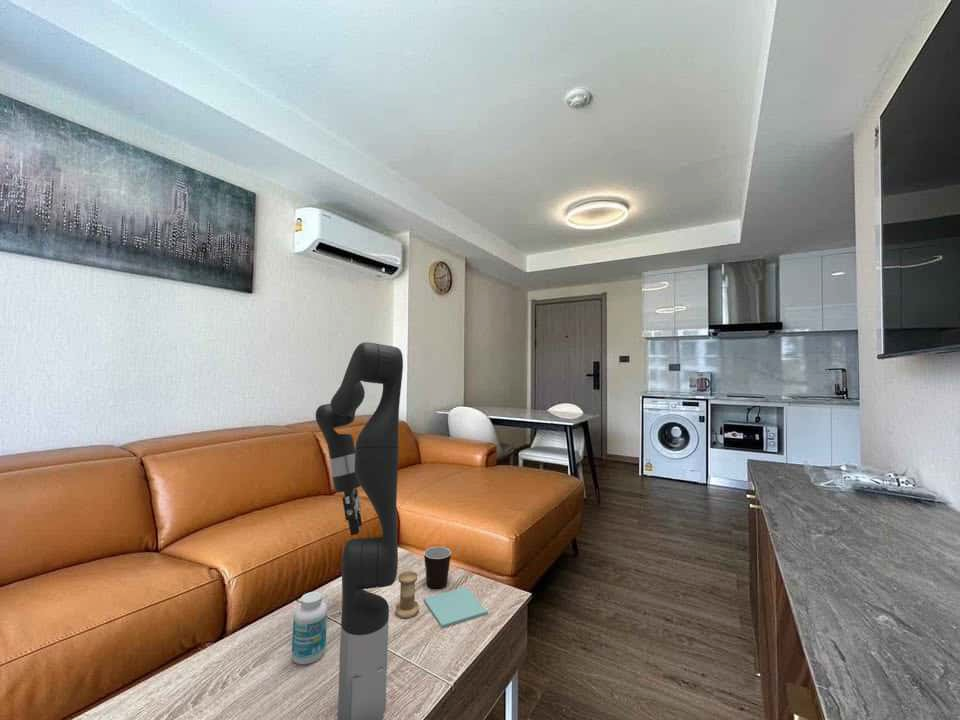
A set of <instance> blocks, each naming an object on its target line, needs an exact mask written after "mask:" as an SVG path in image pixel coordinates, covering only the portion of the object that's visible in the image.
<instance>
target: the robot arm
mask: <svg viewBox="0 0 960 720" xmlns="http://www.w3.org/2000/svg"><path fill="white" fill-rule="evenodd" d="M403 370H404V357H403V353H402V351H401V349H400V348H399V347H397V346H393V345H386V344H380V343H376V342H375V343H374V342H369V341H367V342H366V341H364V342H360V344H358V345H357V346H356V348H355V349H354V351H353V353H352V355H351V358H350V359H349V363H348V365H347V368H346V370H345V372H344V376H343V379H342V382H341V384H340V386H339V388H338V389H337V391H336V392H335V393H334V395H333V396H332V398H331V399H330V400H331V401H330V403H326V404H325V403H324V404H320V405H319V406H318V407H317V409H316V411H315V421H316V423H317V425H318V428H319V429H320V432H321V433H322V435H323V437H324V440H325V442H326V445H327V449H328V454H329V460H330V471H331V475H332V476H331V477H332V482H333V487H334V492H335V493H342V492H343V494H344V495H343V497H342V498H341V500H342V505H343V510H344V515H345V520H346V521H347V522H348V527H349V528H348V529H349V533H350V536H355V535H358V534H359V533H360V527H362V526H363V522H362V516H361V509H362V508H361V507H362V506H361V501H360V494H359V493H358V488H359V487H361V489H362V491H364V493H365V494H366V496H367V498H368V500H369V501H370V503H371V505H372V506H373V508H374V511H375V514H376V515H377V518H378V520H379V523H380V526H381V532H382V536H374V537H361V538H359V537H358V538H352V539H349V540H348V541H347V542H346V543H345V545H344V547H343V551H342V555H341V556H342V557H341V592H342V593H341V596H342V597H341V598H342V599H341V601H342V602H341V617H340V619H341V620H340V638H339V639H340V642H339V643H340V644H339V666H338V667H339V671H338V695H337V696H338V697H337V698H338V699H337V703H338V704H337V718H338V720H384V712H385V711H386V706H387V681H388V679H387V677H388V676H387V675H388V674H387V673H388V648H389V647H388V644H389V643H388V642H389V617H390V615H389V614H390V607H389V603H388V601H387V600H386V599H385V598H384V597H383V596H381V595H379V594H376V593H373V592H370V591H367V589H376V588H385V587H386V588H387V587H391V586H392V585H393V584H395V581H396V579H397V574H398V566H399V565H398V564H399V563H398V562H399V554H398V553H399V552H398V551H399V549H398V517H397V515H398V514H397V510H398V509H397V502H398V501H397V499H398V498H397V496H398V495H397V493H398V478H399V477H398V476H399V475H398V474H399V453H400V452H399V451H400V450H399V447H400V445H399V444H400V443H399V424H400V423H399V420H400V417H399V416H400V403H401V402H400V401H401V390H402V382H403V373H404V371H403ZM362 382H365V383H371V384H379V385H382V393H381V398H380V401H379V404H378V405H377V407H376V409H375V411H374V413H373V414H372V416H371V417H370V418H369V420H368V421H367V422H366V424H365V425H364V426H363V428H362V429H361V431H360V432H359V435H357V438H356V442H355V439H354V437H353V435H352V434H350V433H338V432H337V431H336V430H335V428H339V427H344V426H349V425H350V424H352V423H353V422H354V421H355V417H356V411H357V409H358V408H359V407H360V406H361V404H362V403H363V402H364V399H365V392H366V391H365V388H364V385H363V384H362Z"/></svg>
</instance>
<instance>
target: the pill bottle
mask: <svg viewBox="0 0 960 720" xmlns="http://www.w3.org/2000/svg"><path fill="white" fill-rule="evenodd" d="M327 627H328V606H327V604H326V603H325V602H324V601H323V594H322V592H319V591H310V592H307V593H304V594H303V595H302V596H301V598H300V604H299V605H298V606H297V608H296V609H295V611H294V613H293V624H292V642H291V643H292V644H291V660H292V661H293V662H294V663H295V664H297V665H309V664H312V663H314V662H317V661H318V660H320V658H322V656H324V654H325V652H326V646H327Z"/></svg>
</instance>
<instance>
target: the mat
mask: <svg viewBox="0 0 960 720" xmlns="http://www.w3.org/2000/svg"><path fill="white" fill-rule="evenodd" d="M422 602H424V604H425V605H426V607H427V608H428V610H429V611H430V613H431V614H432V616H433V617H434V619H435V620H436V622H437V623H438V625H439V626H440V628H441V629H444V628H447V627H450V626H453V625H457V624H460V623H464V622H466V621H470V620H473V619H476V618H480V617H483V616H485V615H489V611H488V610H487V608H486V607H485V606H484V605H483V604H482V603H481V602H480V601H479V600H478V598H477V597H475V595H474V594H473V593H472V592H471V591H470V590H469V589H468V587H466V586H465V587H461V588H456V589H454V590H449V591H446V592H443V593H442V592H441V593H437V594H434V595H431V596H426V597H423V600H422Z"/></svg>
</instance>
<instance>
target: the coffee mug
mask: <svg viewBox="0 0 960 720" xmlns="http://www.w3.org/2000/svg"><path fill="white" fill-rule="evenodd" d="M451 554H452V551H451V549H449V548H447V547H444V546H432V547H429V548H426V549H425V550H424V552H423V556H424V568H425V569H424V570H425V580H426V581H425V582H426V587H427V588H428V589H430V590H433V591H437V590H439V591H440V590H442V589H444V588H446V587H447V585H448V584H447V583H448V577H449V570H450V565H451V564H450V563H451V556H452V555H451Z"/></svg>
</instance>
